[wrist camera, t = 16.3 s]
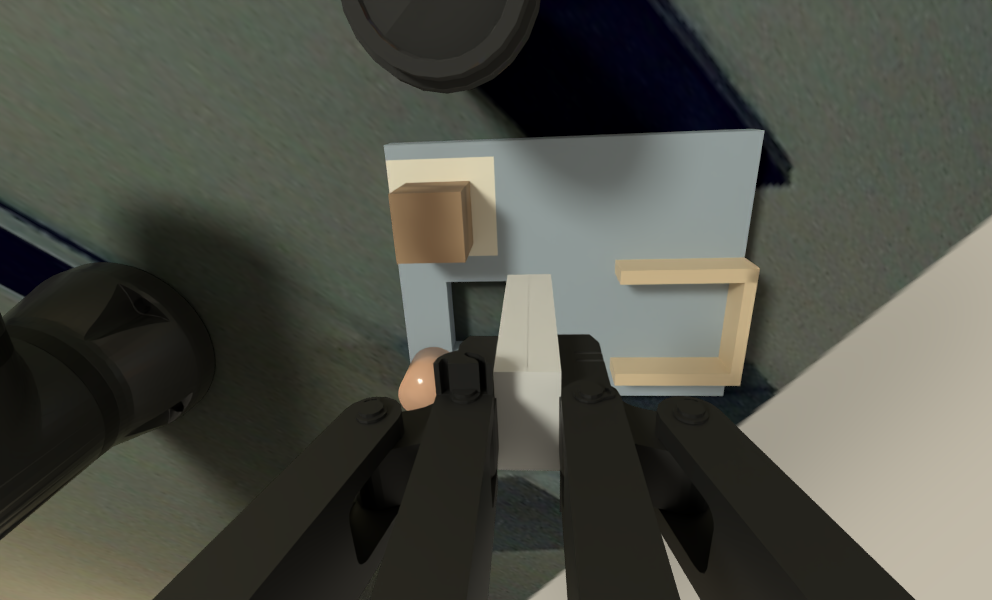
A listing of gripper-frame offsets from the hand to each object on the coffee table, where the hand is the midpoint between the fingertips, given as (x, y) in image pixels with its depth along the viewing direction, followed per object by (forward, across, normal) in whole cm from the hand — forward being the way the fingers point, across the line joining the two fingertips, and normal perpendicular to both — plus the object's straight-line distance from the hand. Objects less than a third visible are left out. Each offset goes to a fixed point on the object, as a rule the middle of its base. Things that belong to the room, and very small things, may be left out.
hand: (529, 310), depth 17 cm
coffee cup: (+21, -4, +12) cm, 24 cm away
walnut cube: (+18, -6, 0) cm, 20 cm away
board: (+20, +2, -6) cm, 21 cm away
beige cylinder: (+18, -8, -13) cm, 24 cm away
